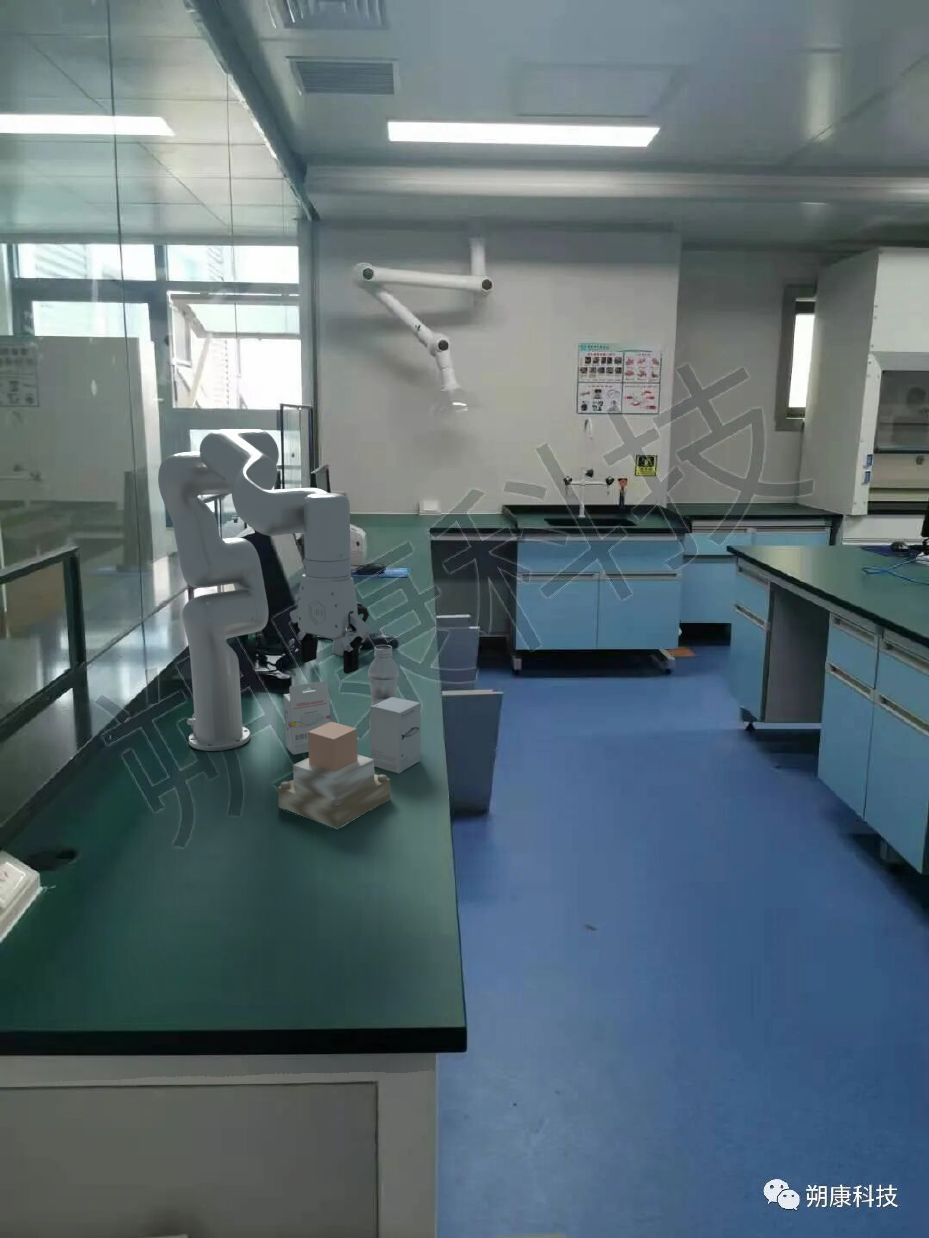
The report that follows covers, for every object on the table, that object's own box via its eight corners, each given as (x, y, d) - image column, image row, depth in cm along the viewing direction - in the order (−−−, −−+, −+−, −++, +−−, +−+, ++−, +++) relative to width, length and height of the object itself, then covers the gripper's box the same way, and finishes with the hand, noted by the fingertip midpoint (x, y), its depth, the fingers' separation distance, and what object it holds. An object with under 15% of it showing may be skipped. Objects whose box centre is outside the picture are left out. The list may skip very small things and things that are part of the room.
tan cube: (309, 763, 147) (307, 731, 145) (332, 752, 152) (331, 721, 150) (334, 771, 144) (333, 739, 142) (357, 760, 148) (356, 728, 147)
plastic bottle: (395, 743, 177) (394, 652, 172) (365, 740, 178) (363, 650, 173) (403, 732, 183) (403, 644, 178) (374, 729, 184) (372, 642, 180)
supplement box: (399, 774, 162) (399, 713, 159) (369, 765, 166) (368, 705, 163) (421, 761, 168) (421, 702, 165) (392, 753, 172) (391, 695, 169)
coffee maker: (319, 651, 243) (317, 591, 239) (340, 645, 250) (339, 586, 246) (358, 660, 235) (356, 598, 231) (378, 653, 242) (377, 592, 238)
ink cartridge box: (324, 740, 178) (322, 674, 175) (332, 748, 174) (330, 680, 170) (285, 746, 174) (281, 679, 171) (291, 755, 170) (288, 686, 167)
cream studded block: (278, 808, 148) (276, 766, 146) (332, 780, 159) (331, 740, 157) (337, 830, 140) (336, 786, 138) (390, 799, 151) (389, 758, 149)
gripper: (274, 565, 141) (277, 662, 145) (352, 578, 132) (353, 681, 136) (306, 558, 147) (308, 652, 151) (382, 571, 138) (382, 670, 142)
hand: (329, 666), depth 144 cm, fingers open, 9 cm apart
